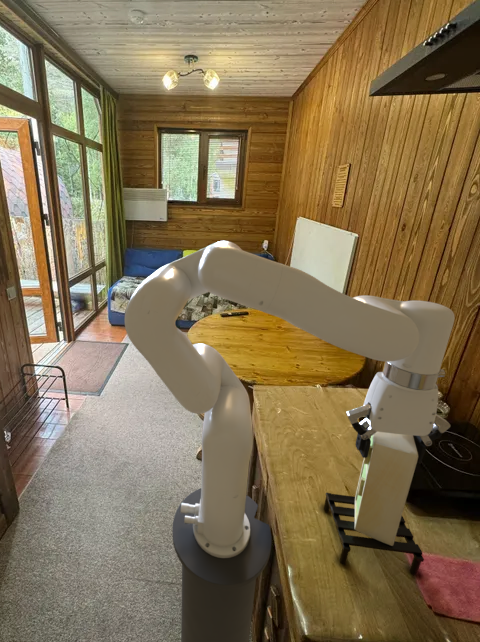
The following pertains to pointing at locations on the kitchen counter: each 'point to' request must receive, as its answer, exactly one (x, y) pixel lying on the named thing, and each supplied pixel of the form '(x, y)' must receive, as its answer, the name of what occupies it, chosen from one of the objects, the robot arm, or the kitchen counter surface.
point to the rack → (368, 542)
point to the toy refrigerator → (384, 485)
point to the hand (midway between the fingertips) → (387, 454)
